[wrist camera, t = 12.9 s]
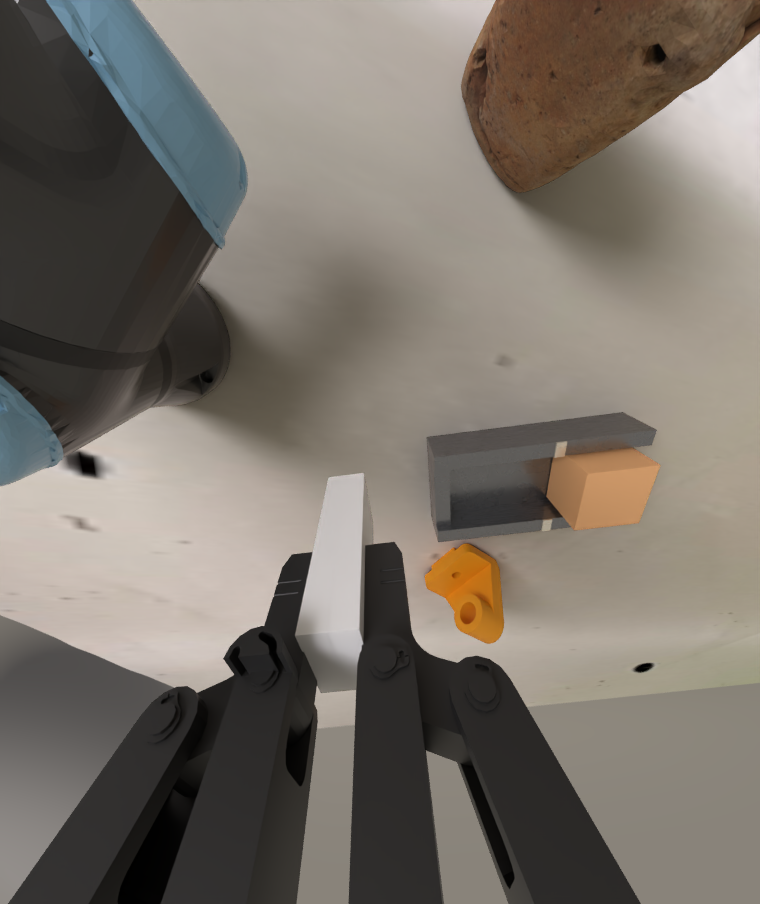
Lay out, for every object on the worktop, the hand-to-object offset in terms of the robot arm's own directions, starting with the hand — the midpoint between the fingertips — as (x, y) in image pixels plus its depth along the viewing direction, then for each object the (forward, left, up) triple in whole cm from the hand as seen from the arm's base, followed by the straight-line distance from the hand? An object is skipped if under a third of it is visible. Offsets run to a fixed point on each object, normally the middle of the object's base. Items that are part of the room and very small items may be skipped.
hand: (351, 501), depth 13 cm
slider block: (+28, -18, -25) cm, 41 cm away
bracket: (+11, -37, -27) cm, 47 cm away
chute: (+20, -18, -26) cm, 38 cm away
